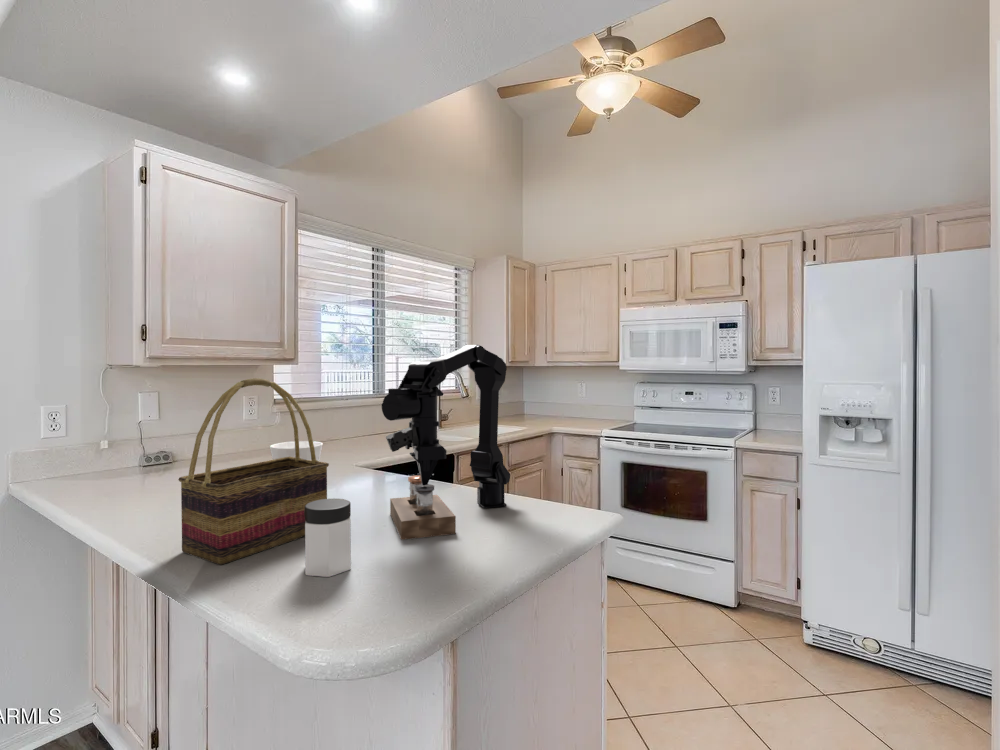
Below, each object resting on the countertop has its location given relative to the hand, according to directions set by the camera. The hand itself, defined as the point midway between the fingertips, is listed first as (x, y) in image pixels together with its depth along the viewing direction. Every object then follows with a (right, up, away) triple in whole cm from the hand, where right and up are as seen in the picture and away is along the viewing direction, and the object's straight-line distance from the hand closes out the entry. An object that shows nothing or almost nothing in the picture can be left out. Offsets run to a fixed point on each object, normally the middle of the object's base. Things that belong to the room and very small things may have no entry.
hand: (424, 484), depth 116 cm
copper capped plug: (-3, -7, +10) cm, 12 cm away
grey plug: (0, -7, 0) cm, 7 cm away
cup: (-39, -10, +25) cm, 47 cm away
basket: (-35, -11, -6) cm, 37 cm away
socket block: (-2, -10, +5) cm, 11 cm away
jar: (-15, -11, -22) cm, 28 cm away
